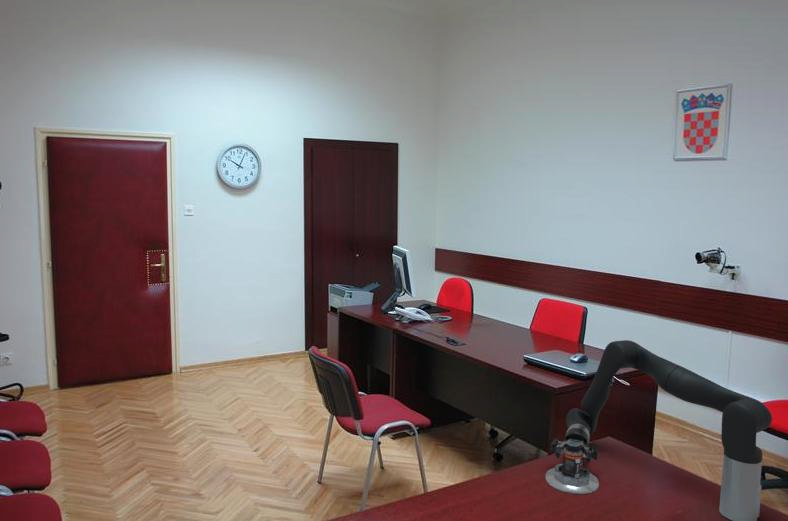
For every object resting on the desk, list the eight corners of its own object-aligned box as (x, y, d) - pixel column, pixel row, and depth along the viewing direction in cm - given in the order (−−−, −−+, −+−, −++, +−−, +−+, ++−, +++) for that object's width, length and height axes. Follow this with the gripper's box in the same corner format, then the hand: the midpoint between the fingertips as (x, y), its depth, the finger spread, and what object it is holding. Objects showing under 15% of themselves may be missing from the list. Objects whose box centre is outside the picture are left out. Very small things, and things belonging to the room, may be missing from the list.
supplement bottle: (583, 483, 179) (584, 448, 178) (562, 481, 180) (564, 446, 179) (580, 474, 185) (582, 440, 183) (561, 472, 186) (562, 438, 185)
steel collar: (575, 466, 193) (575, 456, 192) (610, 488, 178) (610, 477, 178) (535, 474, 186) (535, 464, 186) (567, 498, 172) (568, 487, 171)
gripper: (555, 424, 197) (549, 442, 182) (600, 431, 191) (597, 450, 176) (554, 445, 198) (548, 465, 183) (599, 452, 192) (596, 474, 177)
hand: (572, 457), depth 180 cm, fingers open, 8 cm apart
